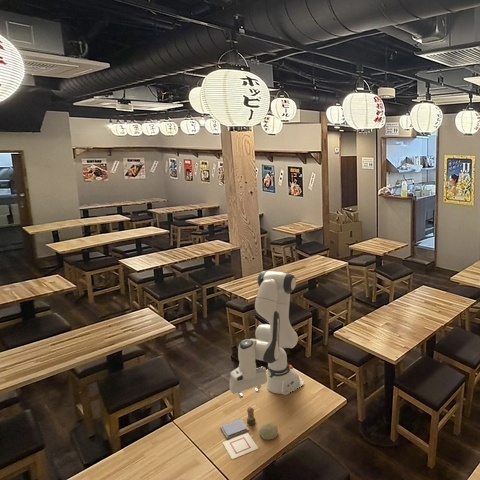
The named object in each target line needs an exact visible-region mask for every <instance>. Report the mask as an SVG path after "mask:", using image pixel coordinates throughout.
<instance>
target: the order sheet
mask: <svg viewBox="0 0 480 480" xmlns="http://www.w3.org/2000/svg"><path fill="white" fill-rule="evenodd" d="M222 445H223V447H224V448H225V450H226V452H227V454H228V456H229V458H230V459H231V460H234V459H237V458H239V457H242V456H244V455H246V454H247V455H248V454H250V453H253V452H254V451H257V450H259V447H258V446H257V444H256V443H255V441H254V440H253V438H252V436H251V435H250V434H249V432H245V433H243V434H240V435H237V436H235V437H232V438H230V439H226V440H224V441H222Z"/></svg>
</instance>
